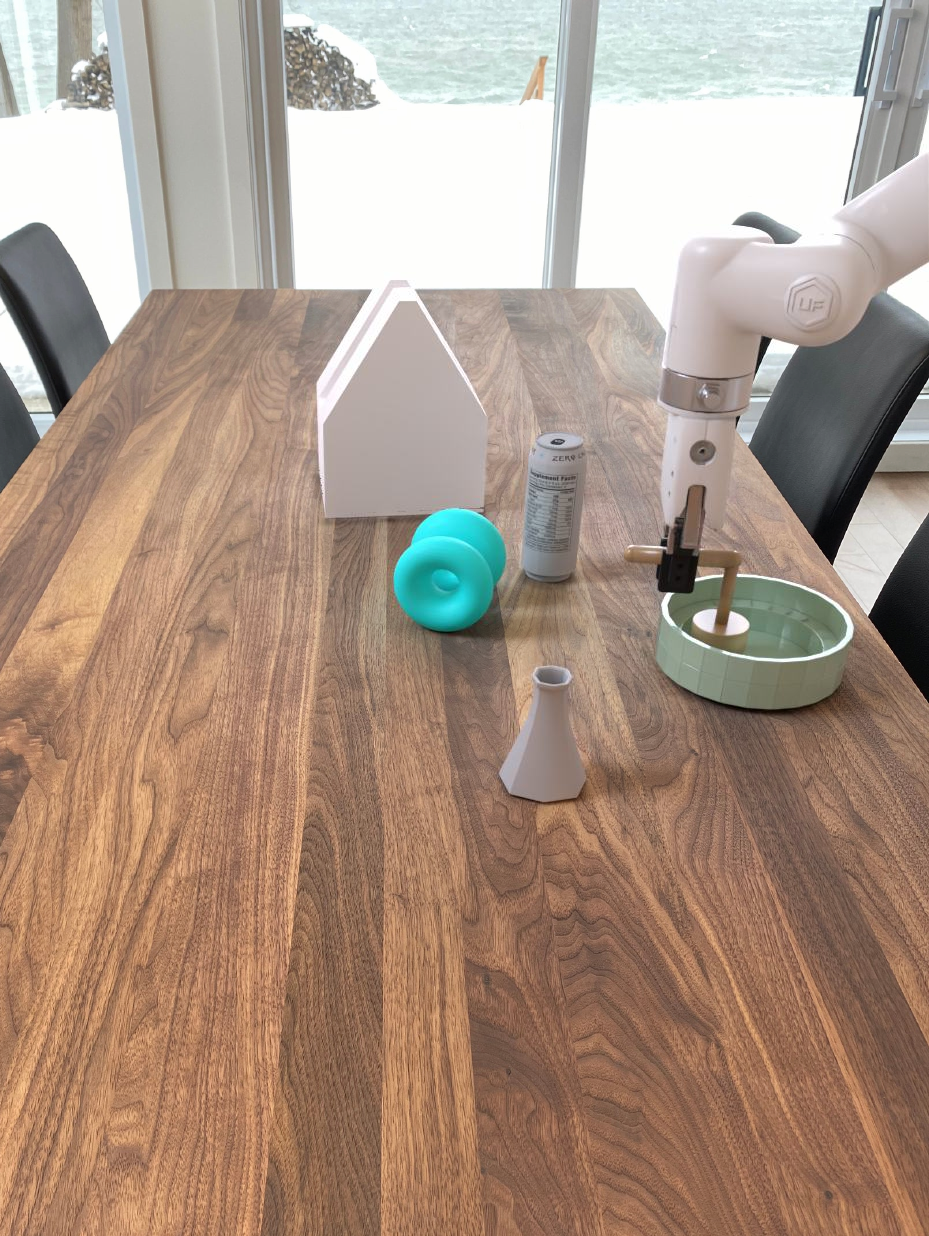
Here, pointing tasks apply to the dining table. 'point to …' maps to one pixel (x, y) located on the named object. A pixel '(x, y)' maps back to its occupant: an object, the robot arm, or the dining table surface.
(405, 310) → the milk carton
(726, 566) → the wooden hook stand
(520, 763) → the flask
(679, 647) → the bowl
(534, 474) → the energy drink can
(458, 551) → the turquoise spool
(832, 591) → the dining table surface
